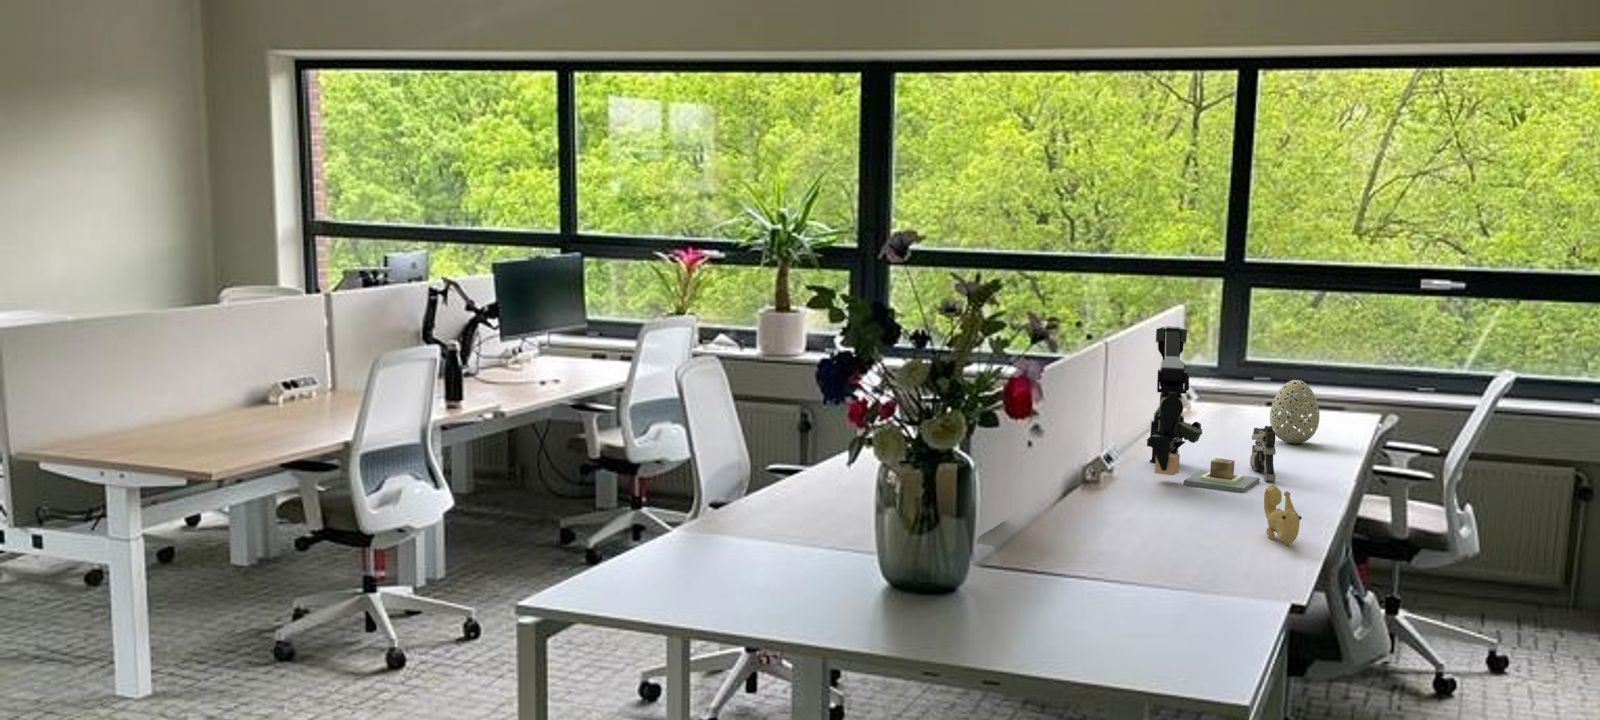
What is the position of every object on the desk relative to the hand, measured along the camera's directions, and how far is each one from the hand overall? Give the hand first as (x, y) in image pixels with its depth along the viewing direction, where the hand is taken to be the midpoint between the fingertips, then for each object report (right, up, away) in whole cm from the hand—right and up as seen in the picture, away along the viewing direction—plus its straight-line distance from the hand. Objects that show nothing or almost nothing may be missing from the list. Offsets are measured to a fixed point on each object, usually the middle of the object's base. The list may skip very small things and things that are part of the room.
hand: (1167, 468), depth 388 cm
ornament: (+55, +3, +60) cm, 82 cm away
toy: (+11, -12, -60) cm, 62 cm away
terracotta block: (0, -1, 0) cm, 1 cm away
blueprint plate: (+15, -4, 0) cm, 15 cm away
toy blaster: (+30, -3, +13) cm, 33 cm away
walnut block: (+15, -3, 0) cm, 15 cm away
